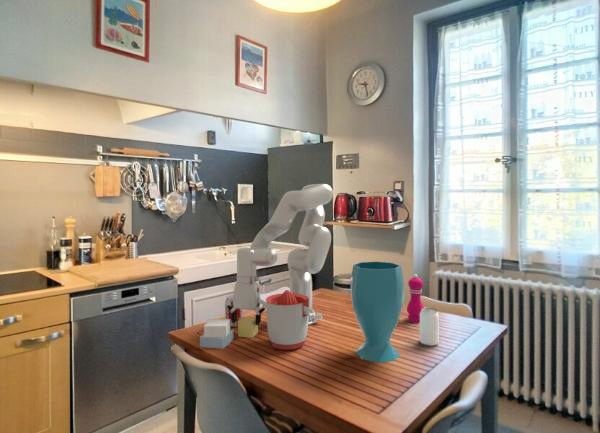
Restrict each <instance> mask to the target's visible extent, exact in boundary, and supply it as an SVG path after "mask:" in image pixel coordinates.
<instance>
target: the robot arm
mask: <svg viewBox="0 0 600 433" xmlns="http://www.w3.org/2000/svg"><path fill="white" fill-rule="evenodd" d="M333 197H334V191H333V188H332V187H331V186H330V185H329V184H327V183H314V184H312V183H311V184H307V185H305V186H303V187H302V188H301V190H289V191H286V192H285V193H284V194H283V196H282V197H281V199H280V201H279V203H278V206H277V207H276V209H275V211H274V213H273V215H272V217H271V219H270V220H269V221H268V223H266V224H265V225H264V227H262V228H261V230H259V232H258V233H257V234H256V236H255V237H254V239H253V241H252V243H251V245H250V247H241V248H239V249H238V250H237V252H236V282H235V283H234V288H233V292H232V293H233V297H232V298H230V299H228V300H226V299H225V301H224V302H225V303H226V305H227V308H228V309H229V310H230V312H231V313H232V315H231V320H232V323H235V322H236V321H237V311H236V310H237V309H242V310H247V311H248V310H250V311H254V312H255V314H256V315H255V317H256V322H255V325H258V326H259V325H260V323H261V322H262V313H263V312H265V310H267V307H266V300H263V299H262V298H261V292H260V286H259V283H258V282H260V280H261V279H260V277H259V276H258V275H257V267H271V266H272V265H274V264H275V263H276V262H277V260H278V253H277V251H276V250H275V249H273V248H271V247H270V245H271V244H272V242H273V241H274V240H275V239H276V238H278V237H279V236H282V235H283V234H285V233H287V232H288V231H289V230H290V228H291V226H292V224H293V222H294V220H295V218H296V216H297V213H299V212H305V216H304V218H303V221H302V222H303V223H302V225H301V227H300V230H299V234H298V239H297V240H298V243H299V244H300V245H302V246H303V247H307V248H308V249H307V248H299V247H298V248H294V249H292V250H291V251H290V252H289V253H288V256H287V267H288V274H289V291H290V292H291V293H296V294H302V295H305V296H307V297H308V298H309V308H311V309H312V310H313V315H312V316H309V315H308V326H311V325H314V324H315V323H316V322H317V320H323V314H321V313H319V312H318V313H316V312H315V309H313V278H312V274H313V275H315V274H317V273H320V271H321V270H322V269H323V267H324V264H325V261H326V258H327V257H328V253H329V250H330V247H331V242H332V234H331V231H330V230H329V229H328V228H327V227H325V226H324V222H325V218H326V212H325V208H324V205H326V204H329V203H330V202H331V201H332V199H333ZM231 301H233V306H232V305H231V303H230V302H231ZM261 305H262V307H261Z"/></svg>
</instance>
